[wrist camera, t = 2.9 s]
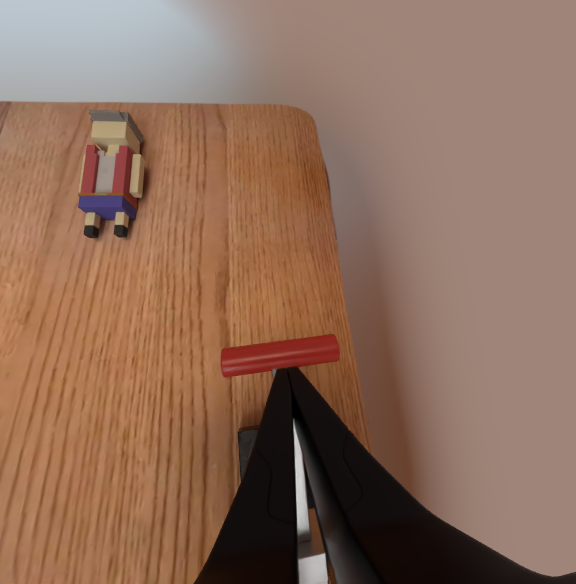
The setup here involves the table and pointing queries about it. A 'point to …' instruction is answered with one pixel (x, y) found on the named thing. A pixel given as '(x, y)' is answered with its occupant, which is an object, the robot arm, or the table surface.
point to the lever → (285, 356)
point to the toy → (111, 172)
